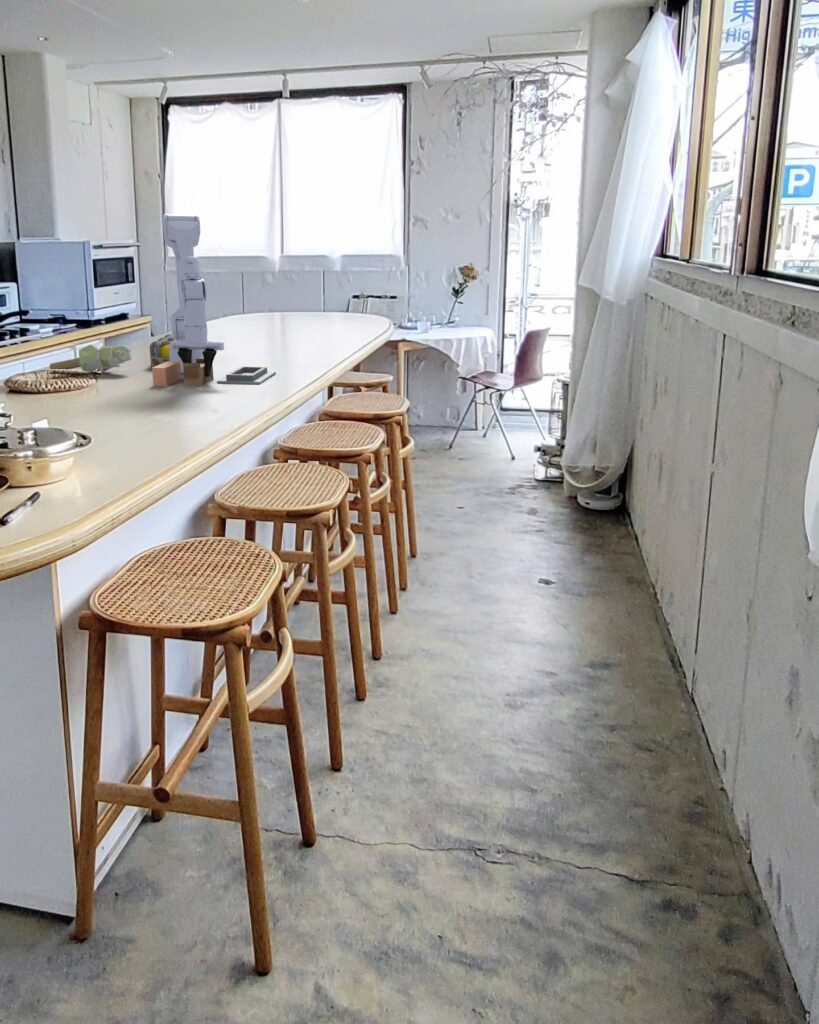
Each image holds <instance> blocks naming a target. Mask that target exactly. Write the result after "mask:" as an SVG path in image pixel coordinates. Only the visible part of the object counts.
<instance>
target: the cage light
mask: <svg viewBox="0 0 819 1024" xmlns="http://www.w3.org/2000/svg"><path fill="white" fill-rule="evenodd" d="M172 341H175V340H174V339H173V338H172V333H171V334H169V333H168V334H165V335H164V337H160V338H159V339H158V340H155V341H152V342H151V343H150V344H149V358H150V368H151V369H152V368H153V367H155V366H158V365H160V364H162V363H165V362H167V361H170V358H169V346H170V342H172ZM203 348H204V347H203ZM206 348H207V347H206ZM203 351H205V350H203Z"/></svg>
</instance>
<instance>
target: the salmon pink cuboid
mask: <svg viewBox="0 0 819 1024" xmlns="http://www.w3.org/2000/svg"><path fill="white" fill-rule="evenodd" d="M151 371H152V383H153V384H152V385H153V386H157V387H159V386H160V387H167V386H170V385H171V384H173V383H175V382H177V381H179V380H182V373H181V365H180V361H167V362H165V363H162V364H160V365H158V366H155V367H153V368H152V367H151Z"/></svg>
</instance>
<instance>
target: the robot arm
mask: <svg viewBox="0 0 819 1024" xmlns="http://www.w3.org/2000/svg"><path fill="white" fill-rule="evenodd" d="M200 220H201V219H200V216H199V215H198V214H197V213H194V214H184V213H183V214H178V213H177V214H176V213H175V214H174V213H173V214H172V213H171V214H170V213H164V214H163V215H162V230H163V236H164V239H163V240H164V242H165V245H166V246H167V247H169V248H171V249H172V251H173V256H174V258H175V259H174V261H175V270H176V271H175V272H176V281H177V283H176V284H177V292H178V293H177V294H178V302H179V303H178V304H179V307H178V308H176V309H175V310H173V312H172V313H171V315H170V328H171V334H172V338H173V339H174V340H175V341H172V342H170V346H169V358H170V361H180V365H181V374H184V369H183V364H184V363H196V358H204V363H205V376H206V377H209V376H210V373H211V367H212V363H213V364H214V359H215V358H216V355H217V353H218V351H223V350H225V344H224V343H225V342H224V341H223V342H220V341H219V342H218V341H208V324H207V318H206V317H207V316H206V301H207V288H206V283H205V279H204V277H203V276H202V272H201V270H202V269H201V265H200V261H199V259H197V258H196V257H195V250H194V248H196V247H198V246H199V242H200V236H201V221H200ZM203 347H204V348H203ZM206 347H207V348H206ZM203 350H205V351H203Z"/></svg>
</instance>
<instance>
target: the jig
mask: <svg viewBox="0 0 819 1024" xmlns="http://www.w3.org/2000/svg"><path fill="white" fill-rule="evenodd" d="M274 374H275V375H276V374H277V372H276V371H269V370H268V367H267V366H239V367H238V368H236V369H234V370H232V371H230V372H229V373H227V374H226V375H224V376H223V377H221V378H220V379H218V380H216V383H217V384H232V385H233V384H234V385H236V384H239V385H240V384H241V385H261V384H263V383H264V382H266V381H267V380H269V379H270V378H272V377H273V376H274ZM271 376H272V377H271ZM268 378H269V379H268ZM265 380H266V381H265Z"/></svg>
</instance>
